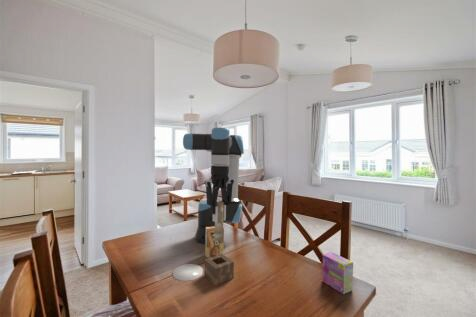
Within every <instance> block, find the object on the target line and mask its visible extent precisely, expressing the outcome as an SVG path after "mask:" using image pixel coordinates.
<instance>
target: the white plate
mask: <svg viewBox="0 0 476 317" xmlns="http://www.w3.org/2000/svg"><path fill="white" fill-rule="evenodd" d="M203 273H204V269H203V268H202V266H200V265H198V264H195V263H186V264H182V265H180V266H178V267H176V268H175V269H174V270H173V271H172V277H173V278H174V279H175V280H178V281H181V282H188V281H193V280H196V279H198V278H200V277H201V276H202V275H203Z"/></svg>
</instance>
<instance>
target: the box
mask: <svg viewBox="0 0 476 317" xmlns="http://www.w3.org/2000/svg"><path fill="white" fill-rule="evenodd" d="M321 274H322V276H321V277H322V278H321V280H322V282H323V283H325V284H326V285H328V286H329V285H330V286H329V287H331V288H332V289H334V290H336V291H337V292H339V293H340V294H342V295H346V294H347V293H350V292H352V291H353V278H354V262H353V261H352V260H350V259H347V258H345V257H343V256H341V255H339V254H337V253H334V252H332V251H329V252H325V253H324V254H322V273H321ZM345 293H346V294H345Z"/></svg>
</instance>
